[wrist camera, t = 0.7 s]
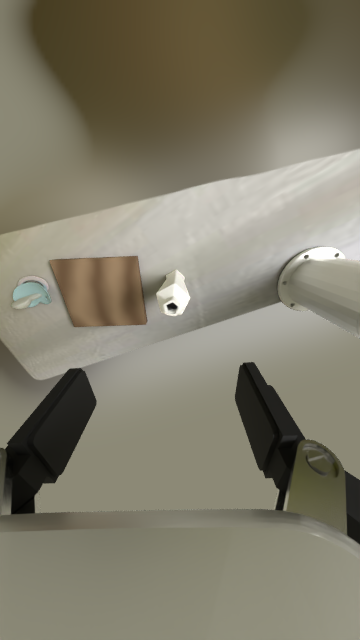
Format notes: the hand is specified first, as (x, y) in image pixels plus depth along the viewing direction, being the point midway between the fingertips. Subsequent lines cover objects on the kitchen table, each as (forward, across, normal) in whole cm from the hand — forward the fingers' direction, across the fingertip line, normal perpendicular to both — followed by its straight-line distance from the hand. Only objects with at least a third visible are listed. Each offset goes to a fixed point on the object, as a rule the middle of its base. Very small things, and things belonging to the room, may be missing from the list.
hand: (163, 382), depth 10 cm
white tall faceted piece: (+26, 0, 0) cm, 27 cm away
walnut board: (+26, +15, +2) cm, 30 cm away
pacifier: (+27, +29, +1) cm, 39 cm away
